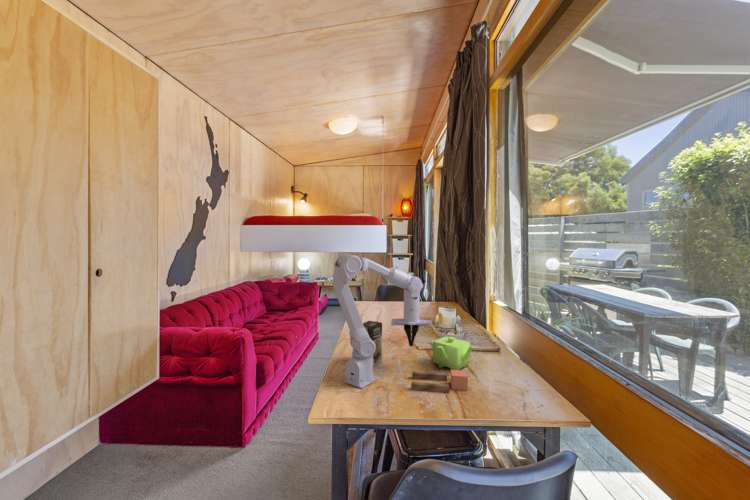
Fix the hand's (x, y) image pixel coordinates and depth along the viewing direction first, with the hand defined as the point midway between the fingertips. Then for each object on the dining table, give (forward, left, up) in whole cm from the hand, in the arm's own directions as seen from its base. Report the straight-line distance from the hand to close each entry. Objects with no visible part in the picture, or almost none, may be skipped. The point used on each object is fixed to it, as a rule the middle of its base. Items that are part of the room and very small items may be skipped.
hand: (411, 345), depth 122 cm
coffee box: (-4, +16, -10) cm, 19 cm away
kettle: (+13, -10, -10) cm, 19 cm away
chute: (-6, -9, -10) cm, 15 cm away
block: (-1, -19, -10) cm, 21 cm away
